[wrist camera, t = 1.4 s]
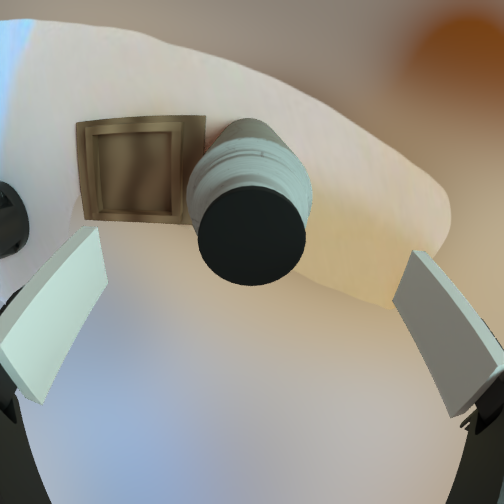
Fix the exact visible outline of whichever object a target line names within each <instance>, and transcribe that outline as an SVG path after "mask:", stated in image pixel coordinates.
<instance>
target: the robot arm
mask: <svg viewBox="0 0 504 504" xmlns="http://www.w3.org/2000/svg"><path fill="white" fill-rule="evenodd" d="M28 236H29V221H28V216H27V212H26V209H25V206H24V204H23V202H22V200H21V198H20V196H19V195H18V193H17V192H16V191H15V190H14V189H13V188H12V187H11V186H10V185H9V184H7V183H5V182H0V259H2V258H4V257H7V256H10V255H13V254H15V253H17V252H18V251H19V250H20V249H21V248H22V247H23V246H24V245H25V244H26V242H27V240H28ZM107 284H108V280H107V275H106V270H105V265H104V260H103V255H102V250H101V245H100V239H99V233H98V227H91V226H82V227H81V228H80V229H79V230H78V231H77V232H76V233H75V234H74V235H73V236H72V237H71V238H70V239H69V240H68V241H66V242H65V243H64V244H63V245H62V246H61V247H60V248H59V249H58V250H57V252H56V253H55V254H54V255H53V256H52V257H51V258H50V259H49V260H48V261H47V262H46V263H45V264H44V265H43V266H42V267H41V268H40V269H39V270H38V272H37V273H36V274H35V275H34V276H33V277H32V278H31V279H30V281H29V282H28V283H27V284H26V285H24V286H23V287H21V288H20V289H19V290H17V291H16V292H14V293H13V294H12V296H11V297H10V298H9V299H8V300H7V302H6V305H3V307H2V308H1V309H0V504H52V503H51V501H50V499H49V497H48V494H47V492H46V490H45V487H44V485H43V482H42V480H41V477H40V475H39V472H38V470H37V467H36V464H35V461H34V458H33V455H32V452H31V449H30V446H29V442H28V439H27V435H26V431H25V428H24V424H23V420H22V415H21V411H20V406H19V402H18V399H17V397H16V395H15V394H14V393H15V391H16V389H17V388H18V389H19V390H20V391H21V393H22V394H23V395H24V396H25V398H27V399H30V400H31V401H34V402H36V403H39V404H41V405H43V403H44V400H45V398H46V396H47V394H48V392H49V389H50V387H51V385H52V383H53V381H54V379H55V377H56V375H57V373H58V371H59V369H60V367H61V364H62V362H63V361H64V359H65V357H66V355H67V353H68V351H69V349H70V347H71V345H72V344H73V342H74V340H75V338H76V336H77V334H78V332H79V331H80V329H81V327H82V326H83V324H84V322H85V320H86V319H87V317H88V315H89V313H90V312H91V310H92V308H93V307H94V305H95V303H96V302H97V300H98V298H99V297H100V295H101V293H102V292H103V290H104V289H105V287H106V286H107ZM392 301H393V303H394V305H395V306H396V308H397V310H398V312H399V313H400V315H401V317H402V319H403V321H404V322H405V324H406V326H407V328H408V330H409V331H410V333H411V335H412V337H413V339H414V341H415V343H416V345H417V347H418V349H419V351H420V353H421V355H422V357H423V359H424V361H425V363H426V365H427V367H428V369H429V371H430V373H431V375H432V377H433V379H434V382H435V384H436V386H437V388H438V390H439V393H440V395H441V397H442V399H443V402H444V404H445V406H446V409H447V411H448V413H449V416H450V418H453V417H455V416H458V415H461V414H464V413H465V412H466V411H467V410H468V409H469V408H470V407H471V406H472V405H473V404H474V403H475V405H476V407H477V409H476V410H475V411H474V412H473V413H472V414H470V415H469V417H467V418H466V419H465V420H464V421H463V422H462V423H461V425H460V428H462V427H463V426H464V425H466V424H467V423H468V422H470V424H469V425H468V426H467V427H466V428H465V430H467V431H468V435H467V439H466V443H465V447H464V451H463V455H462V458H461V461H460V465H459V468H458V471H457V474H456V477H455V480H454V483H453V486H452V489H451V491H450V494H449V496H448V499H447V501H446V504H504V349H503V348H502V346H501V345H500V343H499V342H498V340H497V339H496V338H494V337H495V336H494V335H493V333H492V332H491V331H490V330H489V328H488V326H487V325H486V323H485V322H484V321H483V319H481V318H480V317H479V315H478V314H477V313H476V311H475V310H474V309H473V308H472V306H471V305H470V304H469V302H468V301H467V300H466V298H465V297H464V296H463V295H462V293H461V292H460V291H459V290H458V289H457V287H456V286H455V285H454V284H453V282H451V280H450V279H449V278H448V277H447V275H446V274H445V273H444V272H443V271H442V270H441V268H439V266H438V265H437V264H436V263H435V262H434V261H433V259H432V258H431V257H430V256H429V255H428V254H427V253H426V252H425V251H415V250H412V252H411V255H410V258H409V261H408V263H407V266H406V269H405V271H404V274H403V276H402V279H401V281H400V284H399V286H398V289H397V291H396V293H395V296H394V298H393V300H392Z"/></svg>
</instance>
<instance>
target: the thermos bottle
mask: <svg viewBox="0 0 504 504" xmlns="http://www.w3.org/2000/svg"><path fill="white" fill-rule="evenodd" d="M186 201H187V207H188V212H189V215H190V218H191V220H192V224H193V227H194V229H195V232H196V234H197V236H198V245H199V251H200V253H201V255H202V258H203V260H204V261H205V263H206V264H207V266H208V267H209V268H210V269H211V270H212V271H213V272H214V273H215V274H217V275H218V276H220V277H221V278H223V279H225V280H227V281H229V282H231V283H235V284H239V285H246V286H257V285H264V284H267V283H271V282H274V281H276V280H278V279H280V278H282V277H283V276H285V275H286V274H288V273H289V272H290V271H291V270H292V269H293V268H294V267H295V266H296V264H297V263H298V262H299V260H300V258H301V256H302V254H303V252H304V247H305V243H306V232H305V227H306V224H307V220H308V217H309V214H310V210H311V206H312V187H311V182H310V178H309V176H308V174H307V172H306V169H305V167H304V166H303V165H302V163H301V162H300V160H299V159H298V158H297V157H296V155H295V154H294V153H293V152H292V151H291V150H290V149H289V147H288V146H287V145H286V144H285V143H284V142H283V141H282V140H281V138H280V137H279V136H278V135H277V134H276V133H275V132H274V131H273V130H272V129H271V128H270V127H269V126H268V125H267V124H266V123H264V122H262V121H260V120H257V119H252V118H245V119H240V120H237V121H235V122H233V123H231V124H230V125H229V126H228V127H227V128H226V129H225V130H224V131H223V132H222V134H221V135H220V136H219V137H218V138H217V140H216V141H215V142H214V143H213V144H212V146H211V147H210V148H209V149H208V150H207V152H206V153H205V154H204V155H203V157H202V158H201V159H200V160H199V162H198V163H197V164H196V165H195V167H194V169H193V171H192V173H191V175H190V178H189V182H188V186H187V195H186Z"/></svg>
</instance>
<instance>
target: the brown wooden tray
mask: <svg viewBox="0 0 504 504" xmlns="http://www.w3.org/2000/svg"><path fill="white" fill-rule="evenodd" d="M205 123H206V116H198V115H169V116H140V117H125V118H112V119H102V120H93V121H85V122H78V123H76V132H77V154H78V167H79V178H80V188H81V196H82V204H83V211H84V218H85V220H101V221H124V222H146V223H165V224H188V225H193V224H192V220H191V218H190V215H189V212H188V207H187V201H186V195H187V186H188V182H189V178H190V175H191V173H192V171H193V169H194V167H195V165H196V164H197V163H198V162H199V160H200V159H201V158H202V157H203V155H204V141H205Z"/></svg>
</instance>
